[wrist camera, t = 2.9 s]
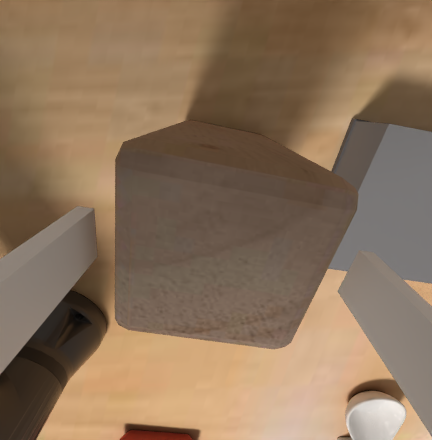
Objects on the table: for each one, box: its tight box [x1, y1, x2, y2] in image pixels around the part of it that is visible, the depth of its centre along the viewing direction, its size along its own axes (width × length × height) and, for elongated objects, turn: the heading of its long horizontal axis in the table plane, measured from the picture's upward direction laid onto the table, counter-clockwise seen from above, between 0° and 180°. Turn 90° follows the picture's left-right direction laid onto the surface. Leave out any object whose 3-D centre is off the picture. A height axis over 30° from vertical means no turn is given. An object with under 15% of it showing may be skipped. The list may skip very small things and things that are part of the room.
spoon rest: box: [337, 391, 406, 440], centre depth 49 cm, size 24×12×7 cm, turn 1°
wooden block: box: [115, 120, 359, 349], centre depth 19 cm, size 10×10×20 cm
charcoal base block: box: [328, 119, 432, 283], centre depth 27 cm, size 16×16×6 cm
